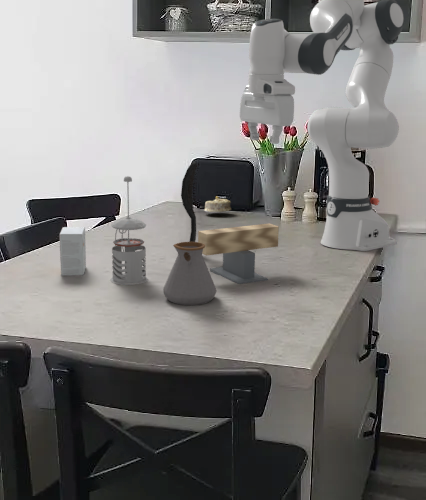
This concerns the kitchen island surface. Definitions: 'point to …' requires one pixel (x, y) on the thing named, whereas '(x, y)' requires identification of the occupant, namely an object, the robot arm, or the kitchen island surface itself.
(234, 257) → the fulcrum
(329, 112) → the robot arm
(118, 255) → the french press
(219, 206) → the cake
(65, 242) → the small box
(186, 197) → the black curved piece
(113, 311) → the kitchen island surface
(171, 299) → the coffee pot
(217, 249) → the oak bar
